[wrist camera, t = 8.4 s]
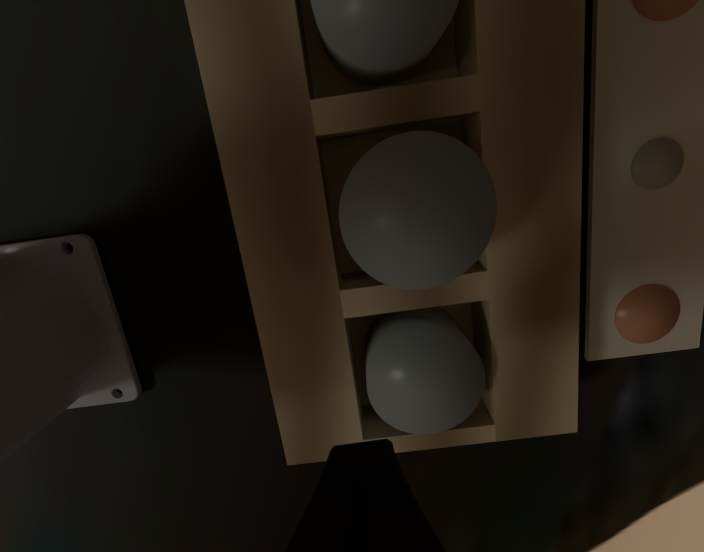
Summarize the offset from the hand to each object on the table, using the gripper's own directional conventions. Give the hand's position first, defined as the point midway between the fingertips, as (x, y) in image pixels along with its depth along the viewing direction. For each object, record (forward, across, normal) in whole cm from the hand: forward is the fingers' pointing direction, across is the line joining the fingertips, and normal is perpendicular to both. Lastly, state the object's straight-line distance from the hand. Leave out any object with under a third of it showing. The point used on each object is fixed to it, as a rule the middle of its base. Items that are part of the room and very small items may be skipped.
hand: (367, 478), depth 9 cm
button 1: (+8, -2, +1) cm, 9 cm away
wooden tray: (+9, -2, -5) cm, 11 cm away
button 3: (+8, -2, -12) cm, 15 cm away
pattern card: (+9, -13, -5) cm, 17 cm away
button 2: (+7, -2, -5) cm, 9 cm away
